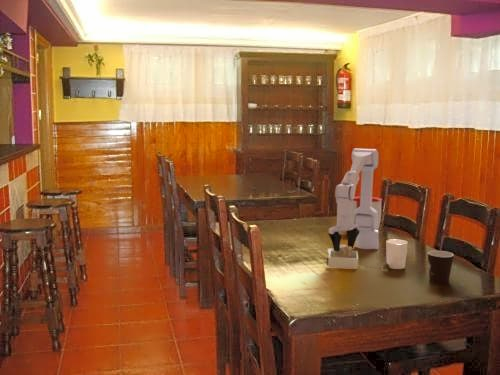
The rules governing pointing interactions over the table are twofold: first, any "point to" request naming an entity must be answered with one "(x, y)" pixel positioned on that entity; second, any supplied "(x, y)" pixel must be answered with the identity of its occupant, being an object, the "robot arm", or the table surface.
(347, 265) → the bin
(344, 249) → the socket block
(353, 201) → the citrus juicer
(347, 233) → the robot arm
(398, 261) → the white cup
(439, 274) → the coffee mug
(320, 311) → the table surface
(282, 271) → the table surface
